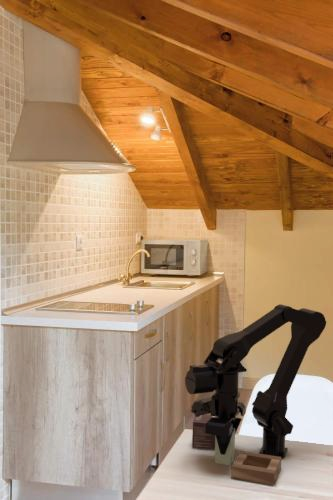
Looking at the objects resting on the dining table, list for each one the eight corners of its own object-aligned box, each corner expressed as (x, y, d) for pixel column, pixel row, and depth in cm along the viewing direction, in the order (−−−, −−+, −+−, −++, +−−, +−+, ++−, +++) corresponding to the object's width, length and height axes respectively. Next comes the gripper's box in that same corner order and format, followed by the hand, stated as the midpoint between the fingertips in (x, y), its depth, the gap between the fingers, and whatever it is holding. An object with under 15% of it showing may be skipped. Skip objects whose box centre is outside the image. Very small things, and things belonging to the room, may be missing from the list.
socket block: (240, 462, 155) (241, 450, 155) (280, 469, 152) (281, 457, 151) (231, 478, 146) (231, 466, 145) (273, 486, 142) (274, 473, 142)
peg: (218, 456, 158) (219, 426, 158) (234, 459, 157) (235, 428, 156) (214, 462, 155) (215, 431, 154) (230, 465, 153) (231, 433, 153)
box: (195, 440, 169) (196, 413, 169) (217, 442, 168) (218, 415, 168) (191, 448, 164) (192, 421, 163) (214, 450, 162) (215, 423, 162)
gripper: (205, 376, 166) (204, 433, 167) (184, 396, 149) (182, 460, 150) (246, 381, 162) (245, 440, 163) (229, 402, 145) (227, 467, 146)
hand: (224, 451), depth 156 cm, fingers closed on peg, 4 cm apart
